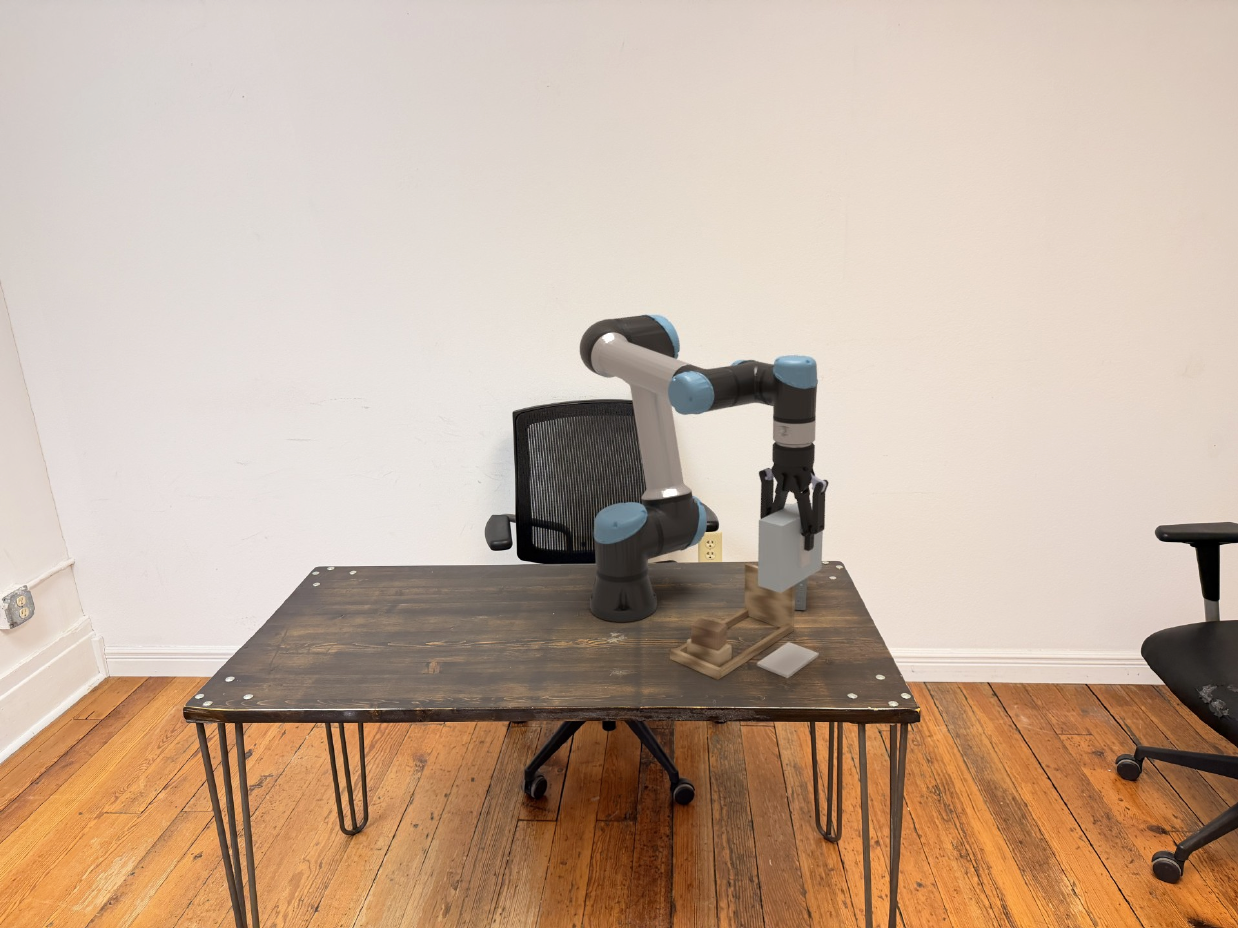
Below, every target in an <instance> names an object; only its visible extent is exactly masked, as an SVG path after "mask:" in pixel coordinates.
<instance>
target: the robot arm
mask: <svg viewBox="0 0 1238 928" xmlns="http://www.w3.org/2000/svg"><path fill="white" fill-rule="evenodd" d="M680 346H681V345H680V338H679V335H678V332H677V329H676V328H675V326H674V325H673V323H672V322H671V321H669V319H668V318H666V317H665V316H663V315H660V314H641V315H634V316H632V315H631V316H626V317H625V316H624V317H619V318H616V317H615V318H607V319H606V318H605V319H601V320H599V321H596V322H595V323H593V324H592V325H590V326H589V327H588V328H587V329H586V330H585V332H584V333H583V334H582V336H581V339H580V343H579V355H580V359H581V361H582V363H583V364H584V366H585V367H586V368H587V369H588V370H589V371H590V372H592V373H593V374H596V375H597V376H601V377H602V378H607V379H608V378H609V379H610V378H611V379H612V378H615V377H616V378H618V379H621V380H622V381H623V382H625V383H627V384H628V385H629V388H630V393H631V399H632V406H633V407H632V408H633V412H634V418H635V425H636V431H637V437H638V443H639V449H640V450H639V451H640V457H641V462H642V468H643V473H644V481H645V487H646V489H645V491H644V493H643V494H642V496H641V503H640V502H635V501H634V502H631V501H629V502H628V501H627V502H625V503H623V502H618V503H614V504H611V505H608V506H606V507H604V508H602V509H601V510H600V511H599V512H598V513H597V514H596V517H595V518H594V525H593V526H594V527H593V538H594V551H595V552H594V554H595V569H596V571H595V573H596V577H595V581H594V584H593V588H592V593H591V594H590V596H589V597H590V598H589V610H590V612H591V613H592V614H593V615H594V616H595V617H596V618H599V619H601V620H605V621H608V622H615V623H616V622H617V623H626V622H627V623H629V622H635V621H639V620H643V619H646V618H648V617H649V616H651V615H653V614H654V613H655V612H656V610H657V608H658V607H657V605H658V602H657V599H658V598H657V594H656V592H655V590H654V587H653V584H652V581H651V578H650V575H649V560H651V559H654V558H657V557H661V556H664V555H667V554H671V553H674V552H675V553H676V552H678V551H685V550H688V548H691V547H693V546H694V547H695V546H696V545H698V544H699V543H700V542H701V541H702V539H703V538H704V536H705V534H706V531H707V527H708V526H707V525H708V523H707V522H708V521H707V519H708V518H707V512H706V509H705V506H704V505H702V501H701V500H700V498H698V497H697V496H695V495H693V490H692V489H691V488H690V487H689V486H687V485H686V484H685V483H684V476H683V471H682V464H681V459H680V451H679V446H678V445H679V443H678V438H677V433H676V432H677V431H676V426H675V420H674V414H673V408H674V411H675V412H676V413H678V414H679V415H683V416H687V415H701V414H703V413H708V412H713V411H718V410H722V409H728V408H733V407H741V406H744V405H749V404H761V405H766V406H771V407H773V408H772V409H773V410H772V411H773V412H772V413H773V414H772V440H773V441H774V442H773V443H772V451H771V452H772V454H771V455H772V457H771V458H772V459H771V460H772V467H771V468H770V467H767V468H764V469H761V470H760V471H758V477H759V480H760V510H759V511H760V512H759V513H760V515H759V517H760V518H759V519H762V518H764V517H766V516H769V515H771V514H773V513H775V512H777V511H779V510H781V509H784V507H785V504H787V503H786V502H787V498H788V495H789V493H792V494H793V497H794V500H795V501H796V502H797V504H798V509H799V514H800V519H801V524H802V529H803V532H802V533H801V534H799V558H798V567H800V568H803V567H804V566H806V565H808V564H810V550H812V549H813V547H814V534H817V533H819V532H821V531H825V527H826V525H825V523H826V522H825V520H826V491H827V489H828V487H829V480H827V479H821V478H819V477H817V476H816V473H815V470H814V464H815V454H816V451H815V450H816V445H815V444H814V442H815V441H816V424H817V423H816V420H817V419H816V418H817V416H816V413H817V412H816V411H817V392H818V391H817V390H818V383H819V380H818V367H817V365H818V364H817V361H816V359H814V358H813V357H812V356H808V355H798V354H794V355H793V354H791V355H790V354H789V355H782V356H781V355H780V356H778V357H776V359H774V363H768V362H762V361H758V360H755V359H738V360H736V361H734V362H733V363H731V364H730V365H727V366H718V367H713V368H704V367H700V366H697V365H693V364H691V363H689V362H685V361H683V360H680V359H678V358H679V353H680V351H681V350H680V349H681V347H680ZM774 480H775V481H776V485H775V481H774ZM811 484H812V486H811V489H812V490H811V491H812V496H811V499H812V500H811V499H810V495H811V491H810V485H811ZM774 486H775V487H774ZM774 488H775V490H774ZM774 493H775V495H774ZM811 503H812V507H811Z"/></svg>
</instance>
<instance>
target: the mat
mask: <svg viewBox="0 0 1238 928" xmlns="http://www.w3.org/2000/svg"><path fill="white" fill-rule="evenodd" d="M819 655H820V654H819V652H816V651H814V650H812V649H809V648H806V647H803V646H800V645H797V644H795V643H793V642H790V641H788V642H786V643H784V644H783V645H781V646H780V647H778V648H777V649H776V650H775V651H773V652H771V653H770V654H768V655H766V656H765V657H764V658H762V659H761V660H759V661H758V662H756V666H757V667H758V668H759V667H760V668H762V669H764V670H766V671H769V672H771V673H773V674H776V675H779V676H780V677H784V678H786V679H789V678H790V677H792V676H793V675H794V674H796V673H798V672H799V670H801V669H802V668H804V667H806V666H807V665H808V664H810V663H811V662H812V661H814V660H815V659H817V658H818V657H820V656H819Z"/></svg>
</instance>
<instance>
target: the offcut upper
mask: <svg viewBox="0 0 1238 928" xmlns="http://www.w3.org/2000/svg"><path fill="white" fill-rule="evenodd" d="M690 638H691V643H692V644H696V645H699V646H703V647H707V648H710V649H714V650H717V651H719V650H720V649H721V648H722V647H723V646H724V645H725V644H728V629H727V624H723V623H721V622H720V621H715V620H711V619H709V618H708V619H707V618H703V617H699V618H697V619H696V620H695V621H693V622H692V623H691V624H690Z"/></svg>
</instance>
